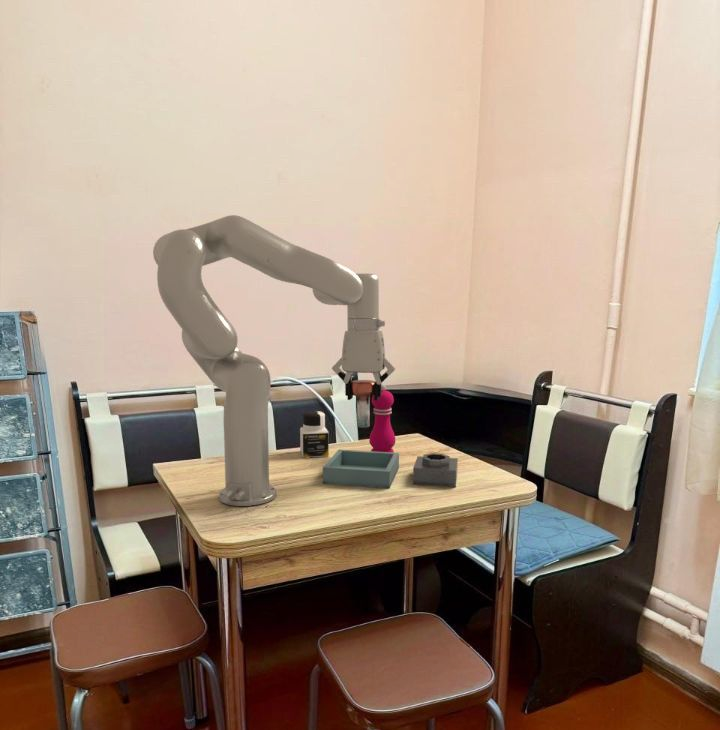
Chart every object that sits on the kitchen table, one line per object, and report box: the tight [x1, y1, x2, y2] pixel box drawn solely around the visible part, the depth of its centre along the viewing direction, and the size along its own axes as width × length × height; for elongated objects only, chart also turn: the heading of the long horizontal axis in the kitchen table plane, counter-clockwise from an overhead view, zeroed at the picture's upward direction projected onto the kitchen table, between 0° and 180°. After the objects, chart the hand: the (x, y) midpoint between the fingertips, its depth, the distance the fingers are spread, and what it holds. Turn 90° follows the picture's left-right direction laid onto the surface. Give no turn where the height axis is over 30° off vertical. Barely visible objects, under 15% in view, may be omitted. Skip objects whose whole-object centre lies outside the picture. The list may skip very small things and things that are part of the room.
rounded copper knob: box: [351, 379, 376, 429], centre depth 142 cm, size 6×6×11 cm
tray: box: [322, 448, 400, 489], centre depth 144 cm, size 16×16×4 cm
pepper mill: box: [369, 384, 396, 453], centre depth 160 cm, size 7×7×20 cm
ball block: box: [412, 452, 459, 488], centre depth 141 cm, size 10×10×6 cm
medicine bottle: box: [299, 410, 330, 459], centre depth 162 cm, size 7×7×12 cm
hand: (363, 398), depth 142 cm, fingers closed on rounded copper knob, 6 cm apart
